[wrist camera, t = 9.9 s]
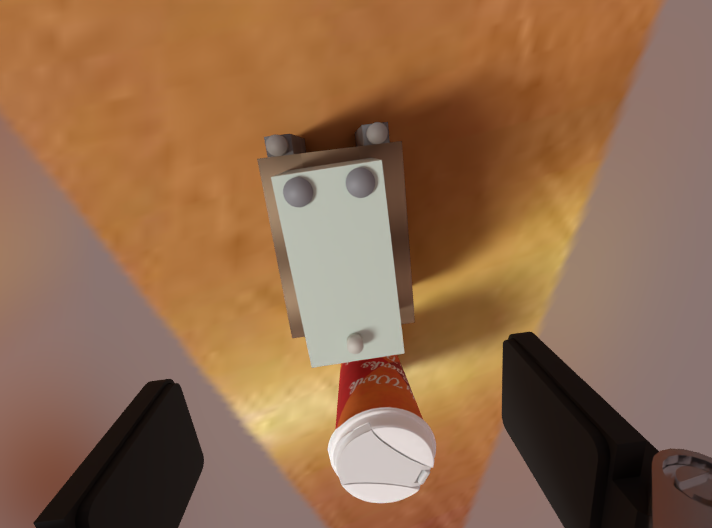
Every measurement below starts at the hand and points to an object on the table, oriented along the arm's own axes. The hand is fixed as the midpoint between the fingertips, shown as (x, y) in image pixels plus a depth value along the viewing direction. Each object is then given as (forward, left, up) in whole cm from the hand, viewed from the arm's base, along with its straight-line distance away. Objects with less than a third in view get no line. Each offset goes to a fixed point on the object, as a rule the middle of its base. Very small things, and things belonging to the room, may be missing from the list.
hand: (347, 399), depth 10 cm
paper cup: (+14, +1, -24) cm, 28 cm away
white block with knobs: (0, 0, -17) cm, 17 cm away
